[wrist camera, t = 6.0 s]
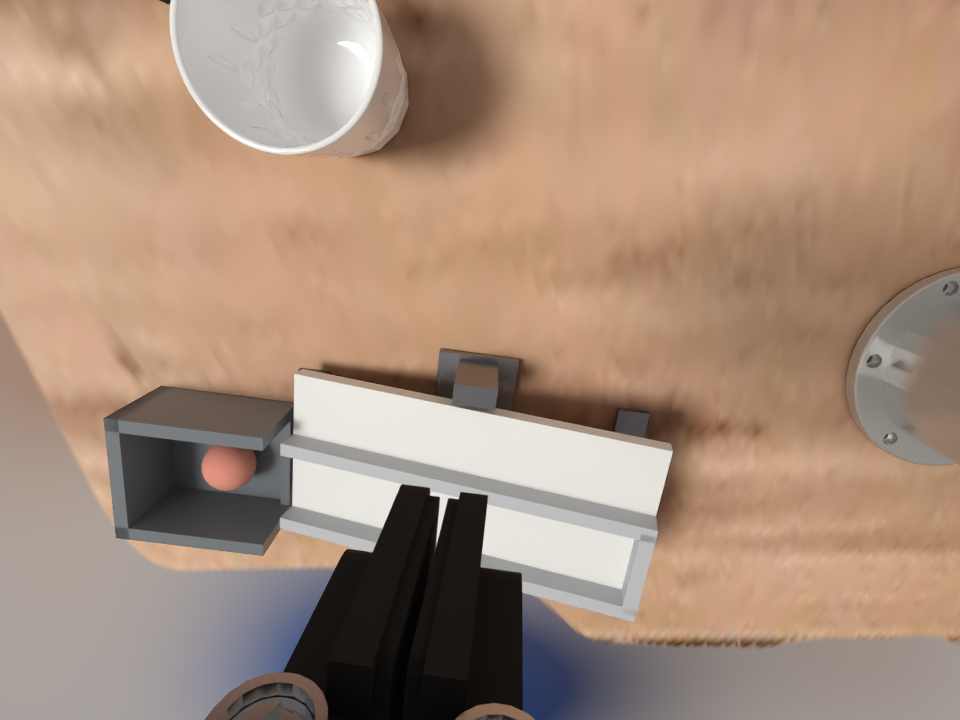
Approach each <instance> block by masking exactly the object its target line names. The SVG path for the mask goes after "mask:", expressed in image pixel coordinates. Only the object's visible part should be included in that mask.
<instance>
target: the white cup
mask: <svg viewBox="0 0 960 720" xmlns="http://www.w3.org/2000/svg"><path fill="white" fill-rule="evenodd" d="M170 35H171V42H172V47H173V52H174V56H175V59H176V63H177V66H178V69H179V71H180V74H181V76H182V78H183V80H184V83H185V85H186V86H187V88H188V90H189V92H190V94H191V95H192V97H193V98H194V100H195V101H196V103H197V104H198V106H199V107H200V108H201V109H202V111H203V112H204V113H205V114H206V115H207V116H208V117H209V118H210V120H211V121H213V122H214V123H215V124H216V125H217V126H218V127H219V128H220V129H222V130H223V131H224V132H225V133H227V134H228V135H230V136H231V137H233V138H234V139H236V140H237V141H239V142H241V143H243V144H245V145H247V146H250V147H252V148H255V149H257V150H261V151H264V152H268V153H274V154H283V155H298V156H309V157H320V158H342V157H358V156H361V155H365V154H368V153H372V152H375V151H379V150H380V149H381V148H382V147H383V146H384V145H385V144H386V143H388V142H389V141H390V140H391V139H392V138H393V137H394V136H395V135H396V134H397V133H398V132H399V130H400V127H401V124H402V122H403V119H404V116H405V114H406V111H407V108H408V106H409V98H408V81H407V72H406V70H405V68H404V66H403V64H402V60H401V56H400V53H399V50H398V47H397V45H396V42H395V40H394V38H393V35H392V32H391V30H390V27H389V25H388V23H387V21H386V19H385V17H384V15H383V13H382V11H381V9H380V7H379V4H378V2H377V0H171V2H170Z"/></svg>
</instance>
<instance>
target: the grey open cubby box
mask: <svg viewBox="0 0 960 720" xmlns="http://www.w3.org/2000/svg"><path fill="white" fill-rule="evenodd" d="M104 428H105V437H106V446H107V456H108V465H109V475H110V484H111V494H112V503H113V513H114V522H115V532H116V538H121V539H129V540H137V541H146V542H154V543H162V544H170V545H178V546H186V547H194V548H203V549H211V550H219V551H227V552H235V553H243V554H252V555H260V556H263V555H264V554H265V552H266V551H267V549H268V548H269V546H270V544H271V543H272V541H273V540H274V538H275V537H276V535H277V534H278V532H279V531H280V517H281V516H282V515H283V514H284V513H285V512H286V511H287V510H288V509H289V508H291V507H292V492H293V458H289V457H285V456H281V455H280V443H282V442H283V441H284V440H286V439H287V438H289V437H290V436H291V435H293V430H294V403H290V402H282V401H274V400H266V399H258V398H250V397H242V396H234V395H226V394H218V393H210V392H202V391H194V390H186V389H178V388H171V387H163V386H160V387H158V388H157V389H155V390H153V391H151V392H149V393H148V394H146V395H144V396H142V397H141V398H139V399H137V400H135V401H133V402H132V403H130V404H128V405H126V406H125V407H123V408H121V409H119V410H118V411H116V412H114V413H112V414H110V415H109V416H107V417H105V418H104ZM214 445H219V446H227V447H235V448H243V449H252V450H253V452H254V454H255V457H256V470H255V473H254V475H253V476H252V478H251V479H250V480H249V481H248V482H247V483H246V484H245V485H243V486H242V487H240V488H238V489H234V490H228V491H225V490H219V489H216V488H214V487H212V486H211V485H209V484H208V483H207V482H206V480H205V479H204V477H203V474H202V461H203V458H204V456H205V454H206V453H207V451H208V450H209V449H210V448H211V447H213V446H214Z"/></svg>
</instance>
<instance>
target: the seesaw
mask: <svg viewBox="0 0 960 720" xmlns="http://www.w3.org/2000/svg"><path fill="white" fill-rule="evenodd" d="M672 454H673V450H672V446H671V444H670V443H666V442H661V441H656V440H651V439H646V438H641V437H636V436H631V435H626V434H621V433H616V432H611V431H606V430H601V429H597V428H592V427H587V426H582V425H577V424H572V423H567V422H562V421H557V420H552V419H547V418H542V417H537V416H532V415H527V414H523V413H518V412H513V411H508V410H503V409H498V408H496V409H495V410H493V409H485V408H477V407H469V406H461V405H453V404H452V399H449V398H444V397H439V396H434V395H429V394H424V393H419V392H414V391H409V390H404V389H399V388H394V387H389V386H384V385H380V384H375V383H370V382H365V381H360V380H355V379H350V378H345V377H340V376H335V375H330V374H325V373H320V372H315V371H310V370H306V369H303V370H301V371H299V372H297V373H295V374H294V430H293V435H291V436H290V437H289V438H287V439H286V440H284V441H283V442H282V443H280V455H281V456H285V457H289V458H293V492H292V507H291V508H289V509H288V510H287V511H286V512H285V513H284V514H283V515H282V516H281V517H280V529H284V530H287V531H291V532H295V533H299V534H302V535H306V536H310V537H314V538H318V539H321V540H325V541H329V542H333V543H337V544H340V545H344V546H348V547H352V548H356V549H359V550H363V551H367V552H373V550H374V547H375V545H376V543H377V540H378V538H379V536H380V533H381V531H382V528H383V526H384V524H385V521H386V519H387V517H388V514H389V512H390V509H391V507H392V505H393V502H394V500H395V498H396V495H397V493H398V490H399V488H400V486H401V485H402V484H405V485H413V486H421V487H428V488H430V496H438V497H440V505H439V516H438V528H437V539H436V546H437V542H438V538H439V534H440V530H441V525H442V521H443V517H444V513H445V509H446V505H447V501H448V498H453V499H459V496H460V492H467V493H474V494H482V495H488V503H487V512H486V521H485V530H484V539H483V548H482V557H481V566H480V567H483V568H490V569H498V570H505V571H512V572H519V573H521V574H522V593H527V594H530V595H534V596H537V597H541V598H545V599H549V600H553V601H556V602H560V603H564V604H568V605H572V606H575V607H579V608H583V609H587V610H591V611H594V612H598V613H602V614H606V615H609V616H613V617H617V618H621V619H625V620H628V621H632V622H634V621H635V617H636V613H637V610H638V606H639V602H640V599H641V595H642V591H643V587H644V584H645V580H646V576H647V573H648V569H649V565H650V561H651V558H652V554H653V550H654V546H655V543H656V539H657V535H658V532H659V531H658V525H657V520H656V514H657V510H658V507H659V503H660V499H661V495H662V491H663V488H664V484H665V480H666V476H667V473H668V469H669V465H670V461H671V457H672Z"/></svg>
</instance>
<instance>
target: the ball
mask: <svg viewBox="0 0 960 720" xmlns="http://www.w3.org/2000/svg"><path fill="white" fill-rule="evenodd" d="M255 470H256V457H255V454H254V452H253V450H252V449H243V448H235V447H227V446H219V445H214V446H213V447H211V448H210V449H209V450H208V451H207V453H206V454H205V456H204V458H203V461H202V474H203V477H204V479H205V480H206V482H207V483H208V484H209V485H211V486H212V487H214V488H216V489H219V490H225V491H228V490H234V489H238V488H240V487H242V486H243V485H245V484H246V483H247V482H248V481H249V480H250V479H251V478H252V476H253V475H254V473H255Z"/></svg>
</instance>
